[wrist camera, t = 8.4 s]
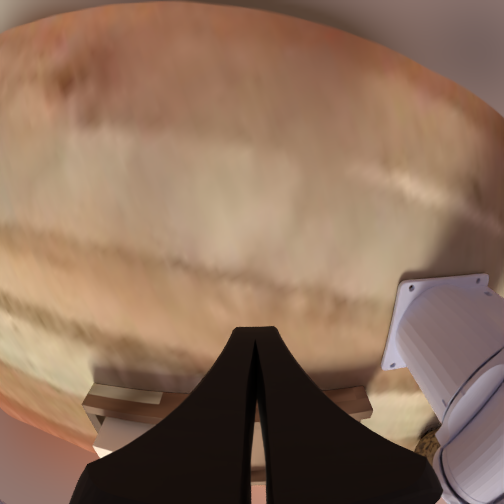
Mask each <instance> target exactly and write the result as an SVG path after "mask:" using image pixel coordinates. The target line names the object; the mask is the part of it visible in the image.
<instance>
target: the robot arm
mask: <svg viewBox="0 0 504 504" xmlns="http://www.w3.org/2000/svg"><path fill="white" fill-rule="evenodd" d="M488 282H489V275H488V274H486V273H481V274H471V275H461V276H450V277H439V278H427V279H415V280H404V281H402V282H401V283H400V284H399V286H398V291H397V296H396V301H395V307H394V312H393V316H392V321H391V326H390V330H389V334H388V339H387V343H386V347H385V351H384V354H383V358H382V362H381V368H382V370H392V369H397V368H403V367H408V369H409V370H410V372H411V374H412V375H413V377H414V379H415V380H416V382H417V383H418V385H419V387H420V388H421V390H422V392H423V393H424V395H425V397H426V398H427V400H428V402H429V404H430V405H431V407H432V409H433V410H434V412H435V414H436V416H437V417H438V419H439V421H440V423H441V424H442V426H441V428H440V429H439V430H438V431H437V432H436V434H435V436H436V438H437V440H438V442H439V444H440V445H441V446H440V447H439V448H438V450H437V451H436V453H435V455H434V458H433V467H432V466H431V464H430V463H429V461H428V459H427V458H426V457H425V456H422V455H420V454H418V453H415V452H413V451H411V450H408V449H406V448H404V447H401V446H399V445H397V444H395V443H393V442H391V441H389V440H387V439H385V438H384V437H382V436H380V435H378V434H377V433H375V432H373V431H372V430H370V429H369V428H367V427H366V426H364V425H363V424H361V423H360V422H359V421H357V420H356V419H354V418H353V417H351V416H350V415H349V414H347V413H346V412H345V411H344V410H342V409H341V408H340V407H339V406H338V405H337V404H335V403H334V402H333V401H332V400H331V399H330V398H329V397H328V396H327V395H326V394H325V393H324V392H323V391H322V390H321V389H320V388H319V387H318V386H317V385H316V384H315V383H314V382H313V381H312V380H311V378H310V377H309V376H308V375H307V374H306V373H305V371H304V370H303V369H302V368H301V366H300V365H299V364H298V362H297V361H296V360H295V358H294V357H293V355H292V354H291V353H290V351H289V350H288V348H287V346H286V345H285V343H284V341H283V340H282V338H281V336H280V334H279V332H278V329H277V328H276V327H274V326H266V327H236V328H235V329H234V330H233V331H232V334H231V336H230V338H229V340H228V342H227V344H226V346H225V347H224V349H223V351H222V352H221V354H220V355H219V357H218V359H217V360H216V362H215V363H214V365H213V366H212V367H211V369H210V370H209V371H208V373H207V374H206V375H205V377H204V378H203V379H202V380H201V382H200V383H199V384H198V385H197V386H196V388H195V389H194V390H193V391H192V392H191V393H190V394H189V395H188V396H187V397H186V398H185V399H184V400H183V401H182V402H181V403H180V404H179V405H178V406H177V407H176V408H175V409H174V410H173V411H172V412H171V413H169V414H168V415H167V416H166V417H165V418H164V419H163V420H161V421H160V422H159V423H158V424H156V425H155V426H154V427H152V428H151V429H149V430H148V431H146V432H145V433H144V434H142V435H141V436H139V437H138V438H136V439H135V440H133V441H132V442H130V443H129V444H127V445H125V446H123V447H122V448H120V449H118V450H116V451H114V452H112V453H110V454H108V455H106V456H104V457H102V458H100V459H98V460H96V461H93V462H91V463H89V464H87V466H86V468H85V470H84V471H83V473H82V474H81V476H80V478H79V480H78V482H77V485H76V487H75V490H74V492H73V495H72V498H71V500H70V503H69V504H251V455H252V444H253V435H254V425H255V414H256V404H257V403H258V410H259V418H260V425H261V433H262V440H263V447H264V455H265V471H266V502H267V503H266V504H435V503H436V502H437V501H438V500H439V499H440V497H442V498H443V499H444V501H445V502H446V503H447V504H504V298H503V297H501V296H500V295H499V294H497V293H496V292H495V291H493V290H492V289H490V288H489V287H488ZM411 285H412V288H411V289H409V287H410V286H411ZM392 363H393V364H392ZM391 364H392V365H391ZM0 504H6V503H4V502H3V501H1V500H0Z"/></svg>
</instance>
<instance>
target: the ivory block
mask: <svg viewBox="0 0 504 504" xmlns="http://www.w3.org/2000/svg"><path fill="white" fill-rule="evenodd" d="M154 426H155V424H147V423H140V422H133V421H127V420H121V419H116V418H111V417H106V418H105V420H104V422H103V424H102V426H101V428H100V431H99V433H98V435H97V437H96V439H95V442H94V444H93V447H94V449H95V451H96V452H97V454H98V456H99V457H100V458H102V457H104V456H106V455H108V454H110V453H112V452H114V451H116V450H118V449H120V448H122V447H123V446H125V445H127V444H129V443H130V442H132V441H133V440H135V439H136V438H138V437H139V436H141V435H142V434H144V433H145V432H146V431H148V430H149V429H151V428H152V427H154Z"/></svg>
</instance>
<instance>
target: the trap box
mask: <svg viewBox="0 0 504 504" xmlns="http://www.w3.org/2000/svg"><path fill="white" fill-rule="evenodd" d="M323 392H324V393H325V394H326V395H327V396H328V397H329V398H330V399H331V400H332V401H333V402H334V403H335V404H337V405H338V406H339V407H340V408H341V409H342V410H344V411H345V412H346V413H347V414H349V415H350V416H351V417H353V418H354V419H356V420H357V421H359V422H360V420H361V419H367V418H371V415H372V412H373V408H372V406H371V404H370V401H369V399H368V396H367V394H366V391H365V389H364V387H363V386H359V387H352V388H344V389H336V390H327V391H323ZM188 395H189V394H180V393H167V392H156V391H146V390H137V389H129V388H121V387H114V386H108V385H102V384H96V383H94V384H93V386H92V387H91V389H90V391H89V392H88V394H87V396H86V398H85V399H84V401H83V403H82V406H83V408H84V410H85V412H86V414H87V415H88V417H89V419H90V421H91V422H92V424H93V426H94V428H95V429H96V431H97V433H99V431H100V428H101V426H102V424H103V422H104V420H105V418H106V417H111V418H116V419H121V420H127V421H133V422H140V423H147V424H155V425H156V424H158V423H159V422H160V421H161V420H163V419H164V418H165V417H166V416H167V415H168V414H169V413H171V412H172V411H173V410H174V409H175V408H176V407H177V406H178V405H179V404H180V403H181V402H182V401H183V400H184V399H185V398H186V397H187V396H188ZM253 485H266V471H265V455H264V447H263V440H262V433H261V425H260V418H259V410H258V403H257V404H256V414H255V425H254V435H253V444H252V455H251V486H253Z"/></svg>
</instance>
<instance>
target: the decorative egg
mask: <svg viewBox="0 0 504 504" xmlns="http://www.w3.org/2000/svg"><path fill="white" fill-rule="evenodd" d="M439 429H440V428H439ZM439 429H436V430H433V431H431V432H429V433H428V434H426V435H425V436H424V437H423V438H422V439H421V440H420V442H419V443H418V445H417V446H416V448H415V451H414V452H415V453H418V454H420V455H422V456H425V457H426V458H427V459H428V461H429V463H430V464H431V466H432V467H433V458H434V455H435V453H436V451H437V450H438V448H439V447H440V446H441V445H440V444H439V442H438V440H437V438H436V436H435V434H436V432H437V431H438V430H439Z"/></svg>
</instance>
